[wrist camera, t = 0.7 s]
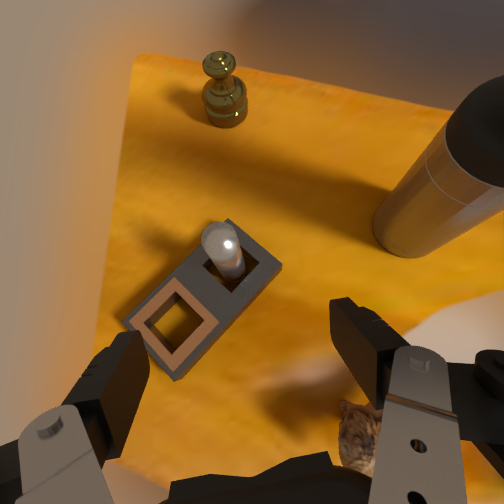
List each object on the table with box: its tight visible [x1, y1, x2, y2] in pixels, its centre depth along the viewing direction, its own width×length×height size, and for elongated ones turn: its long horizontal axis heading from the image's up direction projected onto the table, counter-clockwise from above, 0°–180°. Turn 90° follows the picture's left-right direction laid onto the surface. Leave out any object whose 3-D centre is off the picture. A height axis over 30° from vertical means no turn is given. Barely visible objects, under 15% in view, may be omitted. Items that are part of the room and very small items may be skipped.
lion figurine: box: [338, 401, 384, 478], centre depth 28 cm, size 15×5×9 cm, turn 126°
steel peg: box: [201, 222, 246, 283], centre depth 33 cm, size 4×4×12 cm
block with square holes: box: [122, 218, 282, 382], centre depth 36 cm, size 19×10×3 cm, turn 137°
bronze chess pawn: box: [202, 51, 248, 128], centre depth 43 cm, size 7×8×10 cm
